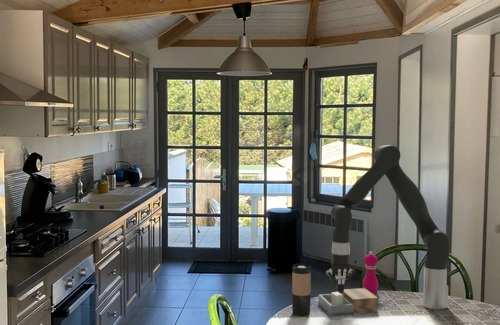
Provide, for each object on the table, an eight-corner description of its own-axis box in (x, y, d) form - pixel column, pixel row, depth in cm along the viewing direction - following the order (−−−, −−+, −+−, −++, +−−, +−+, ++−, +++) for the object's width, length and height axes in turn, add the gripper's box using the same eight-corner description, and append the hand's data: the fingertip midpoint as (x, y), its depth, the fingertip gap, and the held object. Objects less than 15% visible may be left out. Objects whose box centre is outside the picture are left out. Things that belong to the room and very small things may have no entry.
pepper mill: (378, 296, 255) (379, 253, 254) (362, 295, 256) (363, 252, 255) (378, 292, 262) (378, 249, 261) (362, 291, 263) (363, 249, 262)
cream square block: (338, 291, 242) (331, 292, 241) (342, 295, 237) (336, 295, 236) (337, 303, 242) (331, 303, 242) (342, 306, 238) (336, 307, 237)
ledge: (364, 301, 248) (364, 288, 248) (377, 311, 234) (377, 297, 234) (340, 302, 246) (341, 289, 245) (352, 313, 232) (352, 299, 232)
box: (340, 302, 247) (340, 293, 247) (353, 314, 231) (353, 304, 231) (318, 303, 245) (318, 294, 245) (330, 315, 229) (330, 306, 229)
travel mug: (312, 311, 234) (312, 264, 233) (308, 317, 227) (308, 268, 226) (294, 309, 237) (294, 262, 236) (289, 315, 230) (290, 267, 228)
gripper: (352, 249, 242) (351, 289, 243) (323, 250, 239) (322, 290, 240) (358, 253, 234) (358, 294, 236) (328, 254, 232) (328, 295, 233)
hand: (340, 292), depth 238 cm, fingers closed
